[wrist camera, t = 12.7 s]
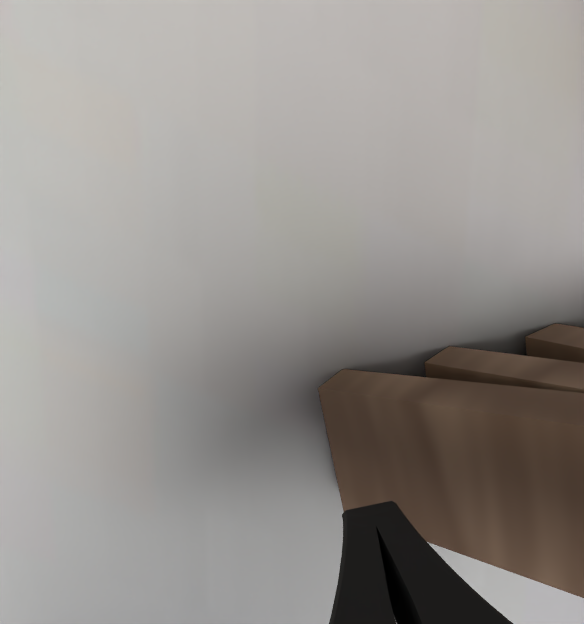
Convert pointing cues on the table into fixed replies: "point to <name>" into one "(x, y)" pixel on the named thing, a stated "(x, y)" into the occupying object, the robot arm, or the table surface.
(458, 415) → the walnut tile
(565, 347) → the walnut tile
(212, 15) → the table surface
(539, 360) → the walnut tile
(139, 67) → the table surface
